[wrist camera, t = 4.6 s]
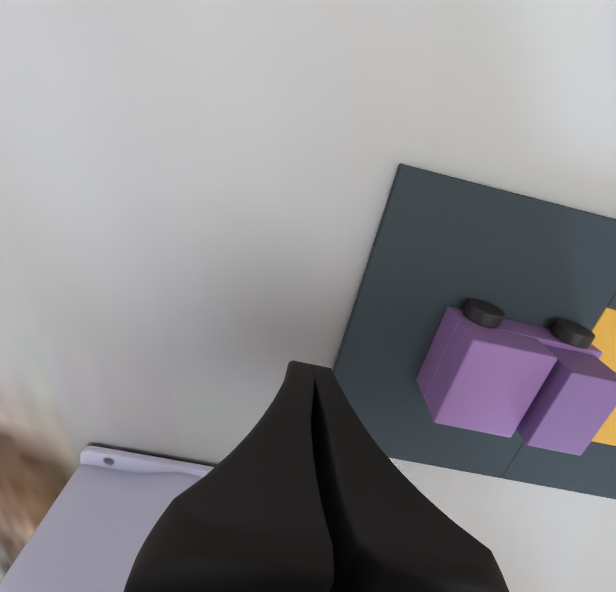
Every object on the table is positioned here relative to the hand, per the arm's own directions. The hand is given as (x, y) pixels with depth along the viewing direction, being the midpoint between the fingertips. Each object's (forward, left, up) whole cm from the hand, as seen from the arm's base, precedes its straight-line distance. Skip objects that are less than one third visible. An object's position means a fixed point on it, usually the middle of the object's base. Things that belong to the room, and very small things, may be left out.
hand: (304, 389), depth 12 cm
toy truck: (+9, 0, -5) cm, 10 cm away
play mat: (+12, 0, -6) cm, 14 cm away
